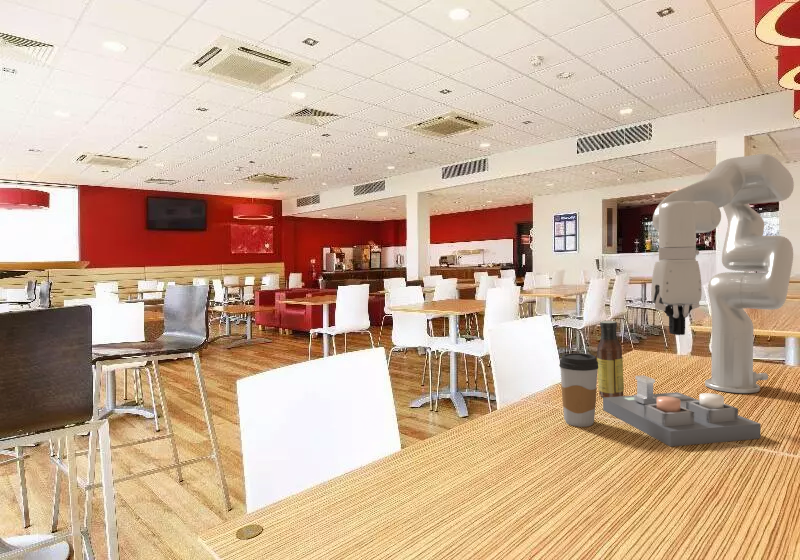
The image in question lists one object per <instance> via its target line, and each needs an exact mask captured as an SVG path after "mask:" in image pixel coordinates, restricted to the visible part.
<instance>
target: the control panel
mask: <svg viewBox="0 0 800 560" xmlns="http://www.w3.org/2000/svg"><path fill="white" fill-rule="evenodd" d="M634 395H635V394H633V395H623V396H619V397H605V398H604V397H602V400H603V401H602V410H603V411H605V412H606V413H608V414H610V415H612V416H614V417H616V418H617V419H620V420H621V421H623V422H625V423H626V424H628V425H630V426H632V427H634V428H635V429H637V430H639V431H641V432H643V433H645V434H646V435H648V436H651V437H652V438H654V439H655V440H657V441H659V442H661V443H663V444H665V445H667V446H669V447H680V446H681V447H682V446H691V445H702V444H713V443H723V442H735V441H744V440H746V441H747V440H758V439H761V432H762V431H761V426H762V424H761V423H760V422H757V421H754V420H751V419H749V418H746V417H744V416H741V415H739V408H738V407H735V406H733V405H730V404H727V403H724V408H720V409H708V408H705V407H703V406H700V405H699V399H697V398H694V397H691V396H689V395H686V394H683V393H681V392H678V391H677V392H662V393H661V392H660V393H653V397H655V398H656V403H653V404H642V403H640V402H638V401H636V400H634ZM660 396H668V397H675V398H678V399H680V400H681V412H669V413H665V412H663V411H661V410H658V409H657V397H660Z"/></svg>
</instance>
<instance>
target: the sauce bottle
mask: <svg viewBox="0 0 800 560" xmlns="http://www.w3.org/2000/svg"><path fill="white" fill-rule="evenodd" d="M599 326H600V332H601V333H600V335H601V336H600V341H599V342H598V345H597V354H596V361H598V367H599V368H598V371H597V383H598V384H597V385H598V387H597V388H598V389H597V390H598V393H599V394H598V395H599V396H601V397H602V398H605V397H619V396H625V395H624V393H625V392H624V391H625V385H624V382H625V381H624V359H623V349H622V348H623V347H622V345H621V342H620V341H619V340H618V336H617V327H618V323H617V321H615V320H603V321H600V322H599Z"/></svg>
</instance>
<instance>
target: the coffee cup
mask: <svg viewBox="0 0 800 560" xmlns="http://www.w3.org/2000/svg"><path fill="white" fill-rule="evenodd" d="M560 358H561V359H560V360H559V364H558V365H559V367H560V378H561V379H560V381H561V385H560V387H561V388H560V389H561V397H562V398H561V399H562V406H563V407H562V408H563V418H564V419H563V420H565V423H566V424H567V425H569V426H572V427H573V426H574V427H578V428H579V427H580V428H583V427H584V428H585V427H591V426H592V425H594V422H595V416H596V415H595V414H596V406H597V405H596V404H597V392H598V391H597V390H598V389H597V388H598V387H597V385H598V384H597V383H598V368H599V367H598V361H597V355H594V354H589V353H582V352H581V353H579V352H571V353H564V354H562V355H561V357H560Z"/></svg>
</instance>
